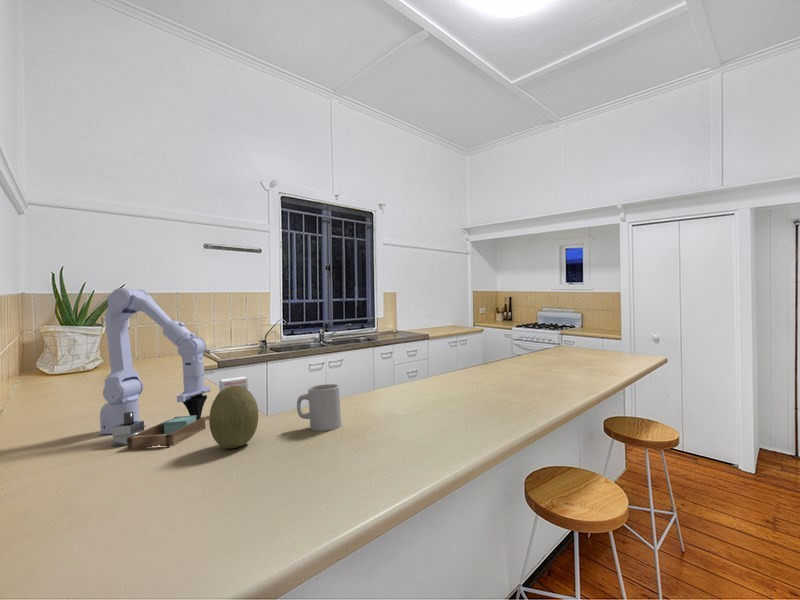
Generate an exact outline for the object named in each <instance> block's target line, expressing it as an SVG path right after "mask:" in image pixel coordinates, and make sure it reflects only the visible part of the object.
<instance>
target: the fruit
mask: <svg viewBox="0 0 800 600" xmlns="http://www.w3.org/2000/svg"><path fill="white" fill-rule="evenodd" d="M208 425H209V430H210V432H211V436H212V438H213V439H214V441H215V442H216V443H217V444H218V445H219V446H220V447H222V448H225V449H235V448H240V447H242V446H245V445H246V444H248V443H249V442H250V440H251V439H252V438H253V436H254V435H255V434H256V432H257V428H258V425H259V407H258V403H257V401H256V399H255V397H254V395H253V394H252V393H251V391H250V390H249V389H248V390H247V389H246V388H244V387H241V386H231V387H227V388H225V389H223V390H221V391H220V390H219V392H218V393H217V395H216V396H215V398H214V399H213V401H212V404H211V406H210V411H209V417H208Z"/></svg>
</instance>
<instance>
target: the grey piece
mask: <svg viewBox="0 0 800 600" xmlns="http://www.w3.org/2000/svg"><path fill="white" fill-rule="evenodd" d="M144 424H145V420H139V421H134V424H131V425H125V426H124V423H122V424H119V425H116V426H114V427H112V430H113V434H112V446H113V447H117V448H118V447H126V446H127V438H128V437H130V436H133V435H135V434H137V433H140V432H142V431H144V430H145V426H144Z"/></svg>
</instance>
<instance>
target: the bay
mask: <svg viewBox="0 0 800 600" xmlns="http://www.w3.org/2000/svg"><path fill="white" fill-rule="evenodd" d="M169 420H170V419H168V420H165V421H163V422H161V423H159V424H157V425H155V426H152V427H149V428H147V429H144V431H142V432H140V433H137V434H135V435H133V436H130V437H128V438H127V450H143V449H142V448H147V447H152V446H158V445H160V446H171V445H173V444H175V443H177V442H179V441H181V442H182V440H183V441H185V440H186V439H188V438H190V437H192V436H194V435H195V434H198V433H199V432H201V431H202V430H205V429H206V428H207V427H206V417H201V418H200V419H199V420H196V421H194V422H192V423H190V424H188V425H186V426H184V427H182V428H180V429H178V430H176V431H174V432H172V433H170V434H164V425H163V423H164V422H167V421H169ZM179 443H180V442H179ZM177 444H178V443H177ZM175 445H176V444H175ZM173 446H174V445H173ZM147 449H148V448H147Z"/></svg>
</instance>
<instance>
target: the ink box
mask: <svg viewBox="0 0 800 600" xmlns="http://www.w3.org/2000/svg"><path fill="white" fill-rule="evenodd" d="M218 382H219V383H218V384H219V392H220V391H221V390H223V389H225V388H227V387H231V386H241V387H244V388H246V389H247V390H248V391H249V387H248V386H249V384H248V377H246V376H245V375H244V376H236V377H229V378H222V379H220V380H218Z"/></svg>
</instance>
